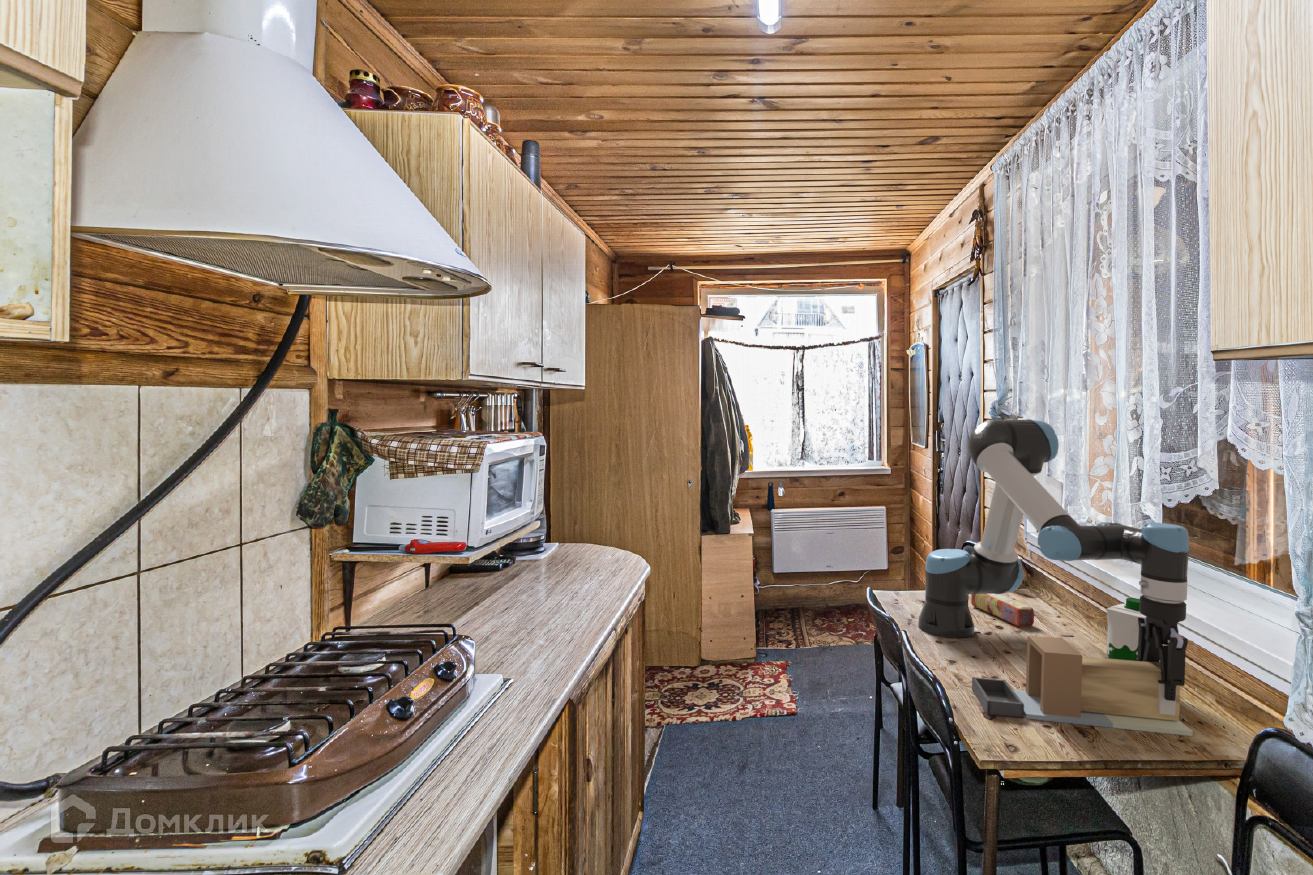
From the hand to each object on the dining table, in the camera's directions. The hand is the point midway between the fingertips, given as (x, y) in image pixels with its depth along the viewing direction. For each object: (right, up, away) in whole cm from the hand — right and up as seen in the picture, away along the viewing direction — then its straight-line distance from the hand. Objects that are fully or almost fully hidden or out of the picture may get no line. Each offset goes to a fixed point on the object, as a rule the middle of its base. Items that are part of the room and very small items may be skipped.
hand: (1158, 706), depth 129 cm
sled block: (-6, -1, +2) cm, 7 cm away
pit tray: (-30, -2, +7) cm, 31 cm away
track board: (-12, -3, +3) cm, 12 cm away
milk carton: (+7, -2, +17) cm, 18 cm away
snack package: (+4, -1, +66) cm, 66 cm away
